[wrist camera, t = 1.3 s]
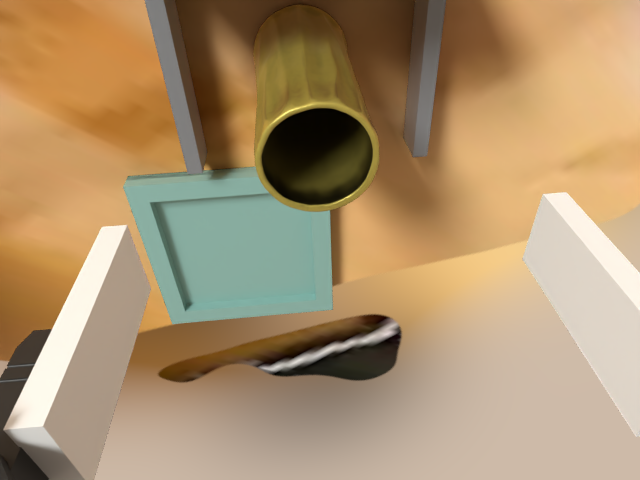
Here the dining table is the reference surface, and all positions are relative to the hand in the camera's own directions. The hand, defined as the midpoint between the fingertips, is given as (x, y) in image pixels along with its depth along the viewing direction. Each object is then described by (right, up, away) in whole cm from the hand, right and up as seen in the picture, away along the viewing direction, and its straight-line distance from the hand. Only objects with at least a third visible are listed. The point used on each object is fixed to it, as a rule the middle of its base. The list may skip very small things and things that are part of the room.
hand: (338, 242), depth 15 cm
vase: (-2, +12, +15) cm, 20 cm away
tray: (-7, 0, +25) cm, 26 cm away
